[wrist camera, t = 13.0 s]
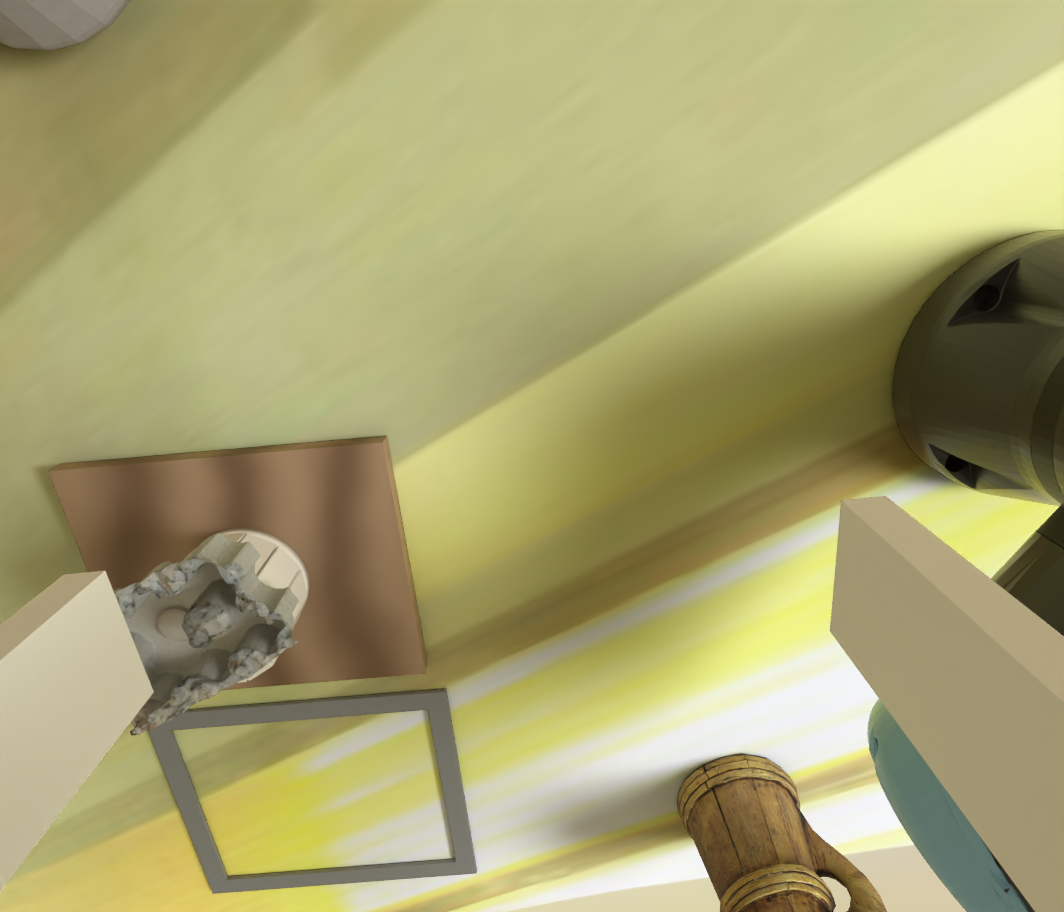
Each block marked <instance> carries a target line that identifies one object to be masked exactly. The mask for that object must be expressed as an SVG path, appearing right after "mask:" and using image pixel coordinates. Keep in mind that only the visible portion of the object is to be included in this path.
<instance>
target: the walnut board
mask: <svg viewBox="0 0 1064 912" xmlns="http://www.w3.org/2000/svg"><path fill="white" fill-rule="evenodd" d="M48 472H49V475H50V478H51V480H52V483H53V485H54V488H55V490H56V493H57V495H58V498H59V500H60V503H61V505H62V508H63V510H64V513H65V515H66V518H67V520H68V523H69V525H70V528H71V530H72V533H73V535H74V538H75V540H76V543H77V545H78V548H79V550H80V553H81V555H82V558H83V560H84V563H85V565H86V568H87V571H88V572H95V571H106V574H107V576H108V579H109V581H110V584H111V586H112V589H113V591H114V590H116V589H118V588H121V589H123V588H125V587H127V586H129V585H131V584H134V583H139V582H141V581H142V580H143V579H144V578H145V577H146V576H147V575H148V574H149V573H150V572H151V571H152V570H153V569H154V568H155V567H156V566H158V565H160V564H162V563H163V562H166V561H170V562H171V563H173V564H174V563H176V562H179V563H180V562H182V561H183V560H184V559H185V557H186V556H187V555H188V554H189V553H190V552H191V551H193V550H194V549H195V548H197V547H198V546H199V545H200V544H201V543H202V542H203V541H204V540H205V539H207V538H208V537H210V536H211V535H213V534H215V533H217V532H220V531H223V530H227V529H233V528H250V529H256V530H260V531H264V532H267V533H269V534H271V535H274V536H276V537H277V538H279V539H281V540H283V541H284V542H285V543H287V544H288V545H289V546H290V547H291V548H292V549H294V550H295V552H296V553H297V554H298V555H299V556H300V558H301V559H302V561H303V563H304V565H305V567H306V569H307V572H308V575H309V581H310V590H309V595H308V599H307V601H306V603H305V605H304V607H303V609H302V611H301V614H300V616H299V619H298V621H297V623H296V624H295V626H294V628H293V630H292V632H291V637H292V639H293V640H294V641H298V643H296V644H295V645H294V646H293V647H291V648H287V649H285V650H284V651H283V652H282V653H281V654H280V655H279V656H278V658H277V660H276V662H275V663H274V664H273V666H272V667H271V668H269V669H268V670H266V671H264V672H263V673H261V674H260V675H258V676H257V677H255V678H253V679H252V680H250V681H249V680H247V682H241V683H235V684H233V685H231V686H229V687H227V688H225V689H223V690H227V689H240V688H252V687H264V686H277V685H289V684H301V683H313V682H326V681H338V680H350V679H363V678H375V677H387V676H399V675H412V674H424V673H425V671H426V666H427V657H426V652H425V646H424V640H423V635H422V629H421V624H420V618H419V613H418V607H417V601H416V596H415V590H414V585H413V579H412V574H411V568H410V562H409V557H408V551H407V546H406V540H405V535H404V529H403V523H402V518H401V512H400V507H399V501H398V496H397V490H396V484H395V479H394V473H393V468H392V462H391V457H390V451H389V445H388V440H387V436H378V437H366V438H354V439H343V440H331V441H320V442H308V443H296V444H285V445H273V446H262V447H250V448H238V449H227V450H215V451H204V452H192V453H181V454H169V455H157V456H146V457H134V458H123V459H111V460H99V461H88V462H76V463H65V464H60V465H59V466H57V467H55V468H53V469H51V470H50V471H48Z"/></svg>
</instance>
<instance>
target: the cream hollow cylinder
mask: <svg viewBox="0 0 1064 912" xmlns="http://www.w3.org/2000/svg"><path fill="white" fill-rule="evenodd" d="M217 533H220V534H221V535H222V536H223V537H224V538H226V539H227V540H230V541H232V542H238V543H245V542H250V543H251V544H253V546H254V548H255V549H256V550H257V551H258V552H259V553H260V557H259V559H258V560H257V561H256V562H255V575H256V576H257V577H258V578H259V580H260V581H261V582H262V583H264V585H268V586H270V587H273V588H276V589H279V588H282V589H284V588H286V587H289V588H290V589H291V591H292V592H293V594H294V595H295V596H296V597H297V599H298V600H299V602H298V603H297V605H296V607H295V609H294V611H293V613H292V615H293V618H294V621H295V623H294V626H295V624H296V623H297V621H298V619H299V616H300V614H301V611H302V609H303V607H304V605H305V603H306V601H307V599H308V595H309V590H310V581H309V575H308V572H307V569H306V567H305V565H304V563H303V561H302V559H301V558H300V556H299V555H298V554H297V553H296V552H295V550H294V549H292V548H291V547H290V546H289V545H288V544H287V543H285V542H284V541H283V540H281V539H279V538H277V537H276V536H274V535H271V534H269V533H267V532H264V531H260V530H256V529H250V528H233V529H227V530H223V531H220V532H217ZM215 534H216V533H215ZM213 535H214V534H213ZM211 536H212V535H211ZM208 538H209V537H208ZM195 549H196V548H195ZM195 549H194V550H195ZM194 550H193V551H194ZM193 551H191V552H190V553H189V554H188V555H187V556H186V557H185V559H184V560H183V561H185V560H186V559H187V558H188V557H189V556H190V555H191V554H192V553H193ZM183 561H182V562H183ZM294 626H293V627H292V628H291V629H292V630H293V628H294ZM277 658H278V656H277V657H276V658H274V659H273V660H272V661H271V662H269V663H268V664H267V665H266V666H264V667H263V668H262V669H260V670H259V671H258V672H256V673H255V674H254V675H252V676H251V677H250V678H247V679H244V680H241V681H239V682H237V683H241V682H247V680H249V681H250V680H252V679H253V678H255V677H257V676H258V675H260V674H261V673H263V672H264V671H266V670H268V669H269V668H271V667H272V666H273V664H274V663H275V662H276V660H277Z"/></svg>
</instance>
